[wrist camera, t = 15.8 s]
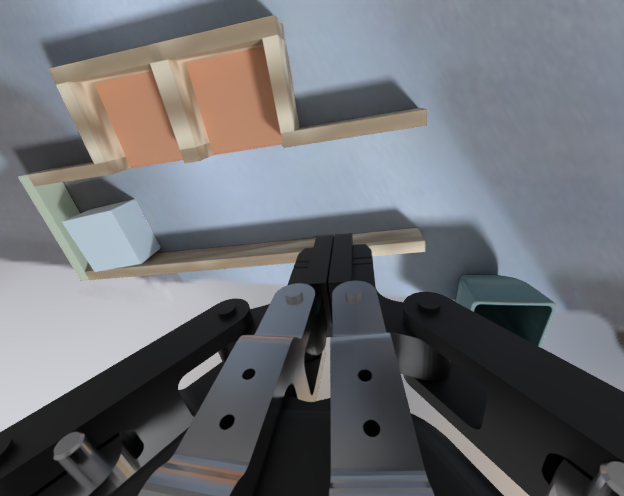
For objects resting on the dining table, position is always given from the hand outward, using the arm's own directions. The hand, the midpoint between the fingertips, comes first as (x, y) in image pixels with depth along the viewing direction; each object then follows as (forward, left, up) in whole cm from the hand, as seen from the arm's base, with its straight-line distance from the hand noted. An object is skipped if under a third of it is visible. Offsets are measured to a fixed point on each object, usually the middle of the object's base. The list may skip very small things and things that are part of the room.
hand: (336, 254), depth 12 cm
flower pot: (+21, +17, -26) cm, 38 cm away
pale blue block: (+6, -34, -26) cm, 43 cm away
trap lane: (-1, -16, -26) cm, 31 cm away
